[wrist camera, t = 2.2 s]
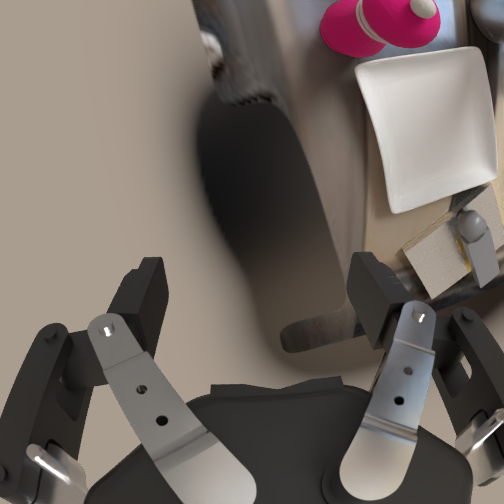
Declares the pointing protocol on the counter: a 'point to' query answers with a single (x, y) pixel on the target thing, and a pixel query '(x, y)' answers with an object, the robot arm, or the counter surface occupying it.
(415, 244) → the panel
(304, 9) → the counter surface
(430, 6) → the pepper mill
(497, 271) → the swing bar
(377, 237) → the counter surface
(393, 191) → the salad plate
